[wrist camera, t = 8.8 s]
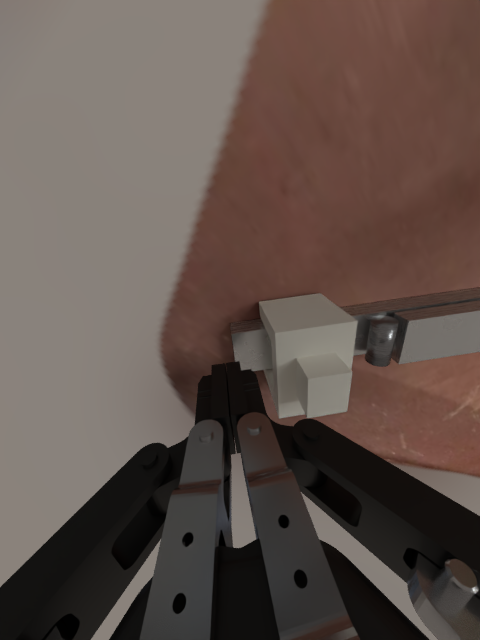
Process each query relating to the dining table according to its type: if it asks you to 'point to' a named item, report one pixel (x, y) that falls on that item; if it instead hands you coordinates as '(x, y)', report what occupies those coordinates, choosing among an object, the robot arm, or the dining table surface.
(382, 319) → the base
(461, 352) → the bar
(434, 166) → the dining table surface
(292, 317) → the lock slider
